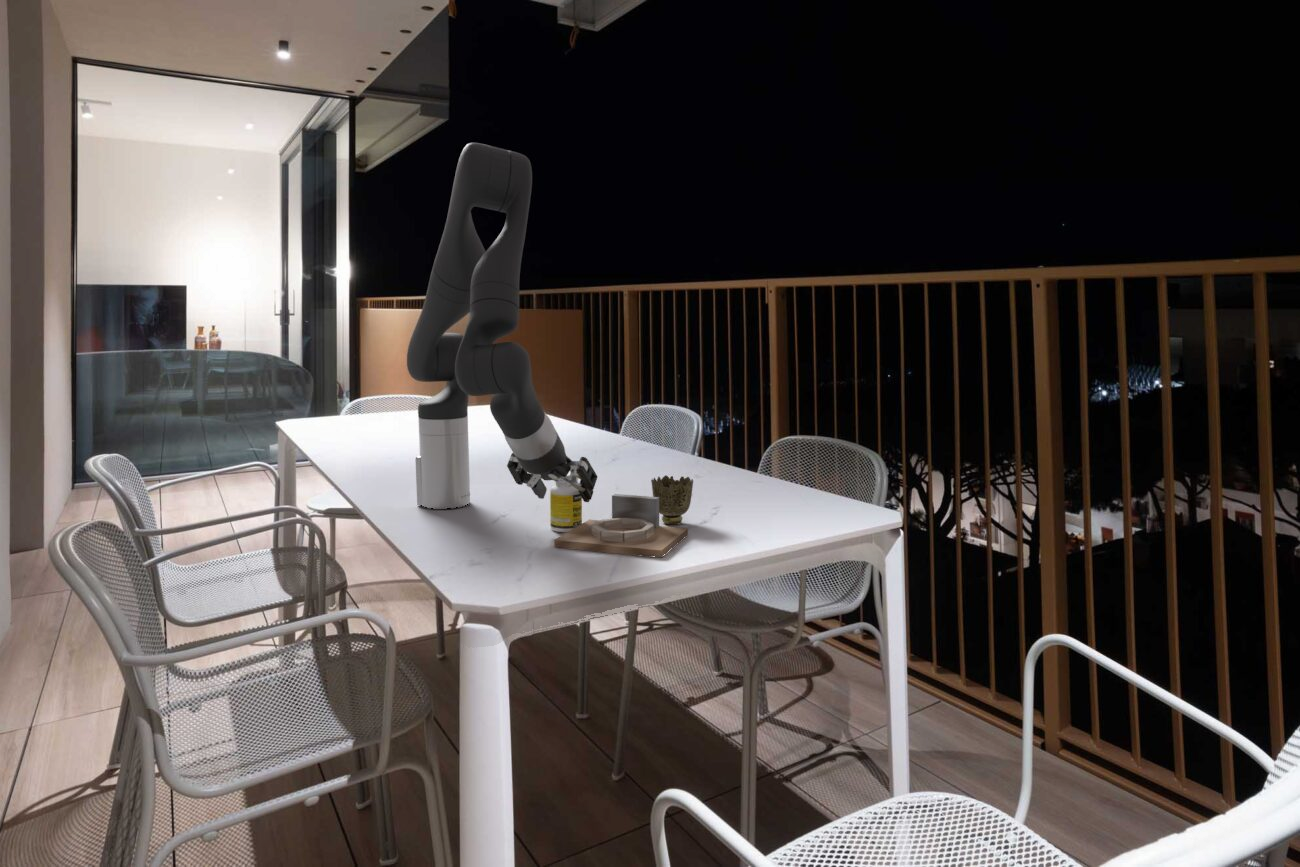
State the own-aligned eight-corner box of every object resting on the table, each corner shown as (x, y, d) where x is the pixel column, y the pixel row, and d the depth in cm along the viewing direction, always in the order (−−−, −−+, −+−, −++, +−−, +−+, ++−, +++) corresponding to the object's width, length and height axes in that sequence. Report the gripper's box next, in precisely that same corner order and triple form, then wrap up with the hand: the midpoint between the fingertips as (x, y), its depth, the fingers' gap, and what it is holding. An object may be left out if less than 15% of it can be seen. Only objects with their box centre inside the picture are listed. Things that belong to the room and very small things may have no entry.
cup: (698, 520, 147) (698, 476, 146) (686, 530, 140) (686, 484, 139) (658, 516, 150) (659, 474, 149) (645, 526, 143) (645, 481, 142)
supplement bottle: (577, 533, 138) (576, 476, 136) (546, 532, 139) (545, 475, 137) (585, 526, 143) (585, 471, 142) (556, 524, 144) (555, 469, 143)
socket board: (554, 547, 130) (553, 509, 129) (589, 526, 143) (589, 491, 142) (661, 558, 124) (661, 518, 123) (687, 535, 137) (688, 499, 136)
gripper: (581, 422, 127) (609, 480, 140) (501, 418, 132) (535, 475, 144) (567, 461, 123) (598, 518, 136) (485, 456, 128) (521, 511, 140)
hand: (565, 496), depth 140 cm, fingers open, 8 cm apart
